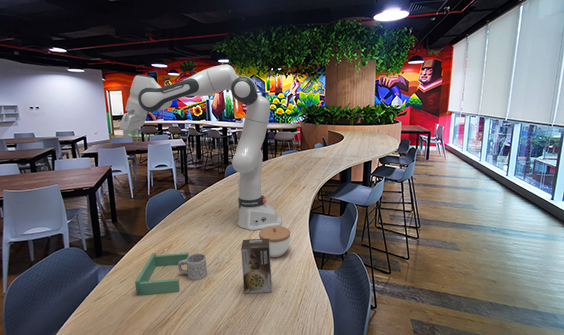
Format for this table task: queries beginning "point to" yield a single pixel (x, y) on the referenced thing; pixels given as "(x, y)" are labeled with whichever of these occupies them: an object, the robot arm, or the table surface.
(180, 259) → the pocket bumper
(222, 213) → the table surface
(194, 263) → the mug
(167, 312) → the table surface
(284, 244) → the lidded bowl
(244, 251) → the brown food box
